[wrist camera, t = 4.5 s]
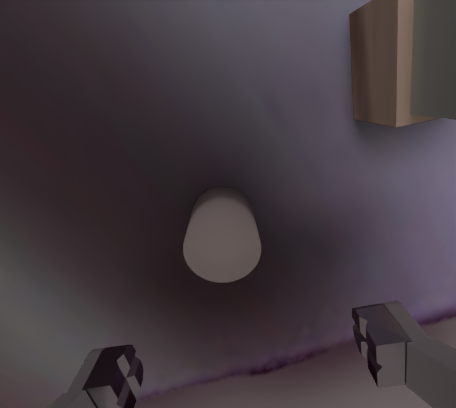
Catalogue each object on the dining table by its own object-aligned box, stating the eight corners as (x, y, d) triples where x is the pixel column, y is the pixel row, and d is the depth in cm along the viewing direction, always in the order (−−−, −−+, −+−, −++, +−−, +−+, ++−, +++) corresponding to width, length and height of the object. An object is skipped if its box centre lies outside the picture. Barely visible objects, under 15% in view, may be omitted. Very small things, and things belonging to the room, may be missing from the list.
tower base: (352, 118, 18) (396, 127, 14) (348, 14, 16) (398, -17, 12) (445, 98, 18) (522, 100, 13) (454, -11, 16) (549, -55, 11)
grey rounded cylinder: (200, 247, 22) (194, 288, 17) (185, 193, 20) (173, 223, 15) (257, 236, 21) (266, 275, 17) (247, 180, 20) (253, 207, 15)
